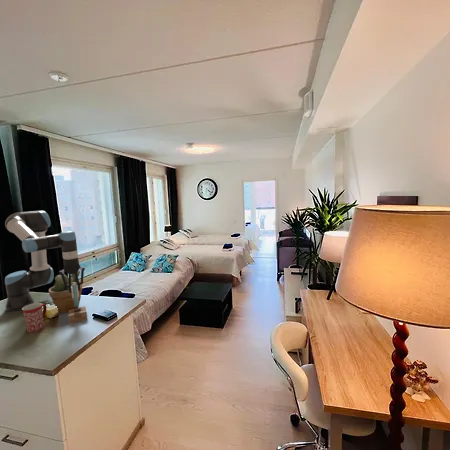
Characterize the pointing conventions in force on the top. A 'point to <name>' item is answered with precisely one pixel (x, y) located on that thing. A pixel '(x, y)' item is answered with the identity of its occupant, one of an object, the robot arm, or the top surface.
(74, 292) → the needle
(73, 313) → the wooden holder
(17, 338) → the top surface
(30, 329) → the mug
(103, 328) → the top surface
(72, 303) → the potted plant
